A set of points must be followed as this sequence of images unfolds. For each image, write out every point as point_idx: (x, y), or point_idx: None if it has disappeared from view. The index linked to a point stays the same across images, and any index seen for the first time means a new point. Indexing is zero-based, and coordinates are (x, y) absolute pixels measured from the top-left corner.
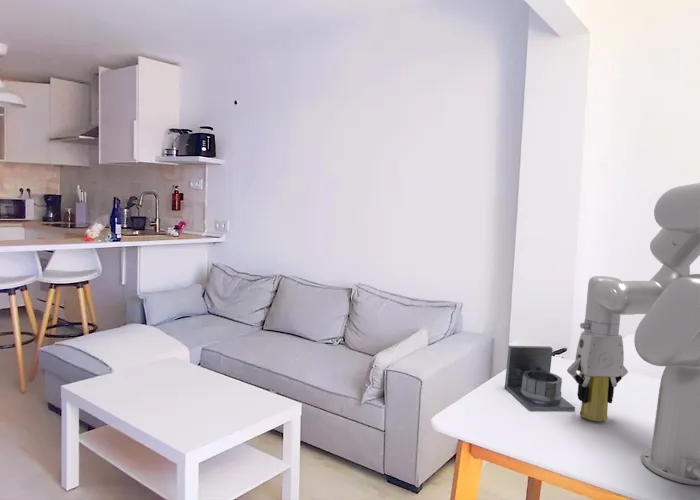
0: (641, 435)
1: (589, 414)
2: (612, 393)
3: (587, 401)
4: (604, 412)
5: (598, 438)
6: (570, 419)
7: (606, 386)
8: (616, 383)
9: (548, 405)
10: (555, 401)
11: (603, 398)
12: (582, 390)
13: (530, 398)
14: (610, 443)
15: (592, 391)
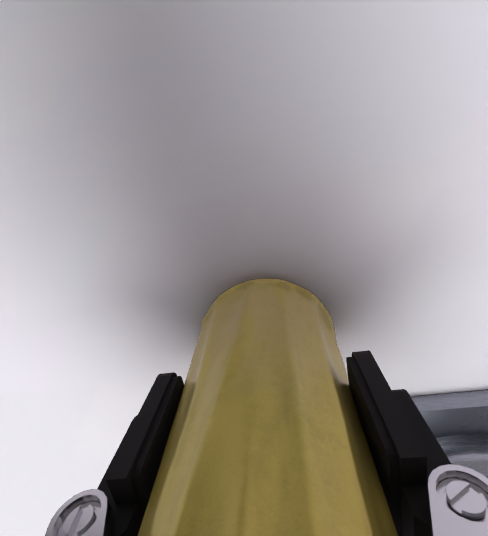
0: (84, 173)
1: (315, 309)
2: (135, 427)
3: (352, 359)
4: (228, 313)
5: (353, 83)
6: (396, 311)
7: (196, 466)
8: (48, 534)
9: (471, 425)
10: None
11: (238, 363)
12: (430, 441)
13: None
14: (309, 20)
15: (342, 420)
